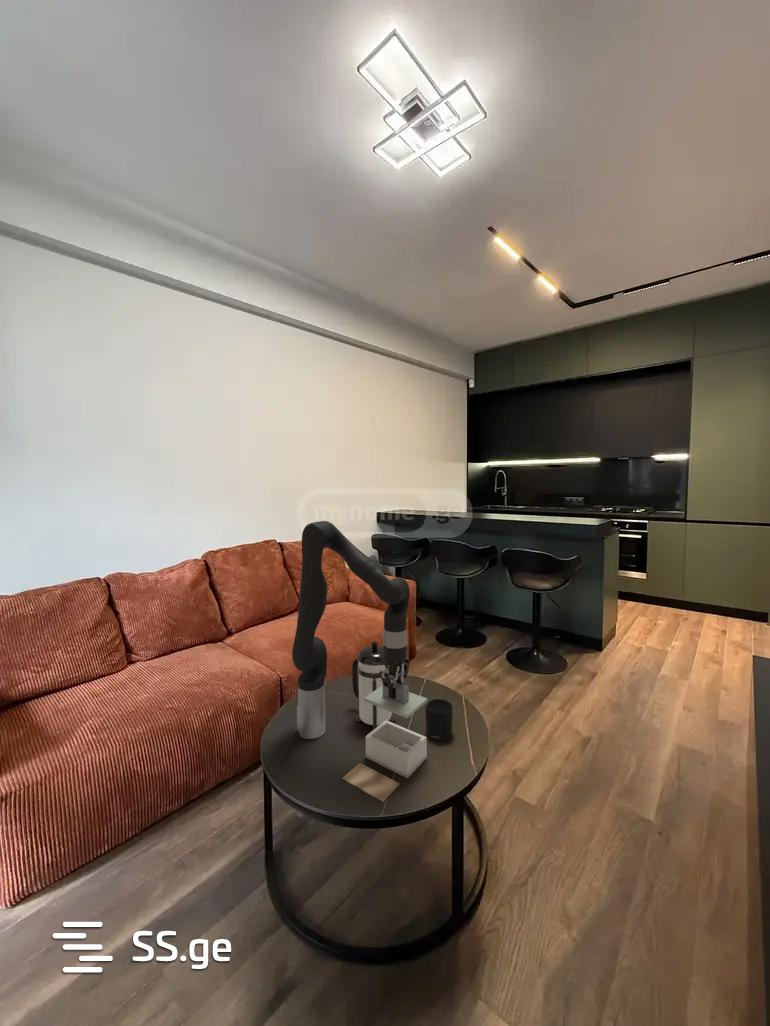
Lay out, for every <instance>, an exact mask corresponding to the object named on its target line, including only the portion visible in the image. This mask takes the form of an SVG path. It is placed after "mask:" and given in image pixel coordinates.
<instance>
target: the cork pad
mask: <svg viewBox="0 0 770 1026" xmlns="http://www.w3.org/2000/svg"><path fill="white" fill-rule="evenodd" d="M342 780H343V781H345V782H347V783H348V784H350V785H352V786H354V787H355V788H357V789H359V790H361V791H362V792H364V793H366V794H367V795H370V796H371V797H373V798H375V799H377V800H378V801H380V802H382V803H384V802H385V801H386V800H387V799H388V798H389V796H391V795H392V793H394V792H395V790H396V789H397V788H398V787H399V786H400V785H401V784H400V782H398V781H395V780H393V779H392V778H390V777H388V776H386V775H384V774H382V773H381V772H378V771H376V770H375V769H373V768H371V767H368V766H367V765H365V764H363V763H361V762H359V763H358V764H357V765H356V766H354V767H353V768H352V769H351V770H350V771H349V772H348V773H346V774H345V775H344V776H343V777H342Z"/></svg>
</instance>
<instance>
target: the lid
mask: <svg viewBox="0 0 770 1026" xmlns="http://www.w3.org/2000/svg"><path fill="white" fill-rule="evenodd" d="M391 683H393V681H392V680H391ZM395 687H396V698H395V699H391V698H389V692H388V687H384V685H382V686H381V687H380V688H378V689H377V690H375V691H374V692H372V693H371V694H369V695H368V696H366V697H365V698H364V701H365V702H368V703H370V704H373V705H375V706H378V707H380V708H382V709H385V710H387V711H390V712H392V713H393V714H394V715H397V716H400V717H402V718H404V719H406V720H407V719H409V718H410V717H412V716H413V714H415V713H417V711H418V710H419V709H420V708H422V707H423V706H424V705H425V704H426V703H428V698H426V697H424V696H422V695H419V694H415V693H413V692H410V688H409V687H410V686H409V685H406V684H404V683H402V684H400V683H397V682H396V686H395Z"/></svg>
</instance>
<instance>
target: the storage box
mask: <svg viewBox="0 0 770 1026" xmlns="http://www.w3.org/2000/svg"><path fill="white" fill-rule="evenodd" d="M427 741H428V739H427V736H425V735H423V734H420V733H418V732H415V731H413V730H410V729H408V728H405V727H403V726H401V725H398V724H396V723H395V722H392V721H390V720H389V721H387V720H385V721H384V722H383V723H382V724H381V725H377V728H376V729H374V730H373V729H372V731H371V732H369V733H368V734H367V735H366V736H365V758H366V759H368V760H370V761H373V762H374V763H375V764H379V765H380V766H382V767H384V768H386V769H388V770H390V771H392V772H394V773H395V774H398V775H400V776H402V777H403V778H406V779H409V777H410V776H412V774H414V772H416V770H417V769H418V768H419V767H420V766H421V765H422V764H423V763H424V762H425V761H426V759H427V758H428V757H427V754H428V753H427V751H428V750H427V749H428V747H427Z"/></svg>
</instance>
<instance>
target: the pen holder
mask: <svg viewBox="0 0 770 1026" xmlns="http://www.w3.org/2000/svg"><path fill="white" fill-rule="evenodd" d="M426 703H427V704H426V705H425V708H424V709H425V725H426V726H425V728H426V734H427V736H428V737H429V738H430V739H432V740H434V741H436V742H437V741H439V742H444V741H447V740H448V739H450V738H451V736H452V732H453V731H452V729H453V714H454V713H453V711H454V710H453V708H454V707H453V704H452V703H451V702H450V701H448V700H445V699H441V698H435V699H430V700H429V701H427V702H426Z"/></svg>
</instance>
